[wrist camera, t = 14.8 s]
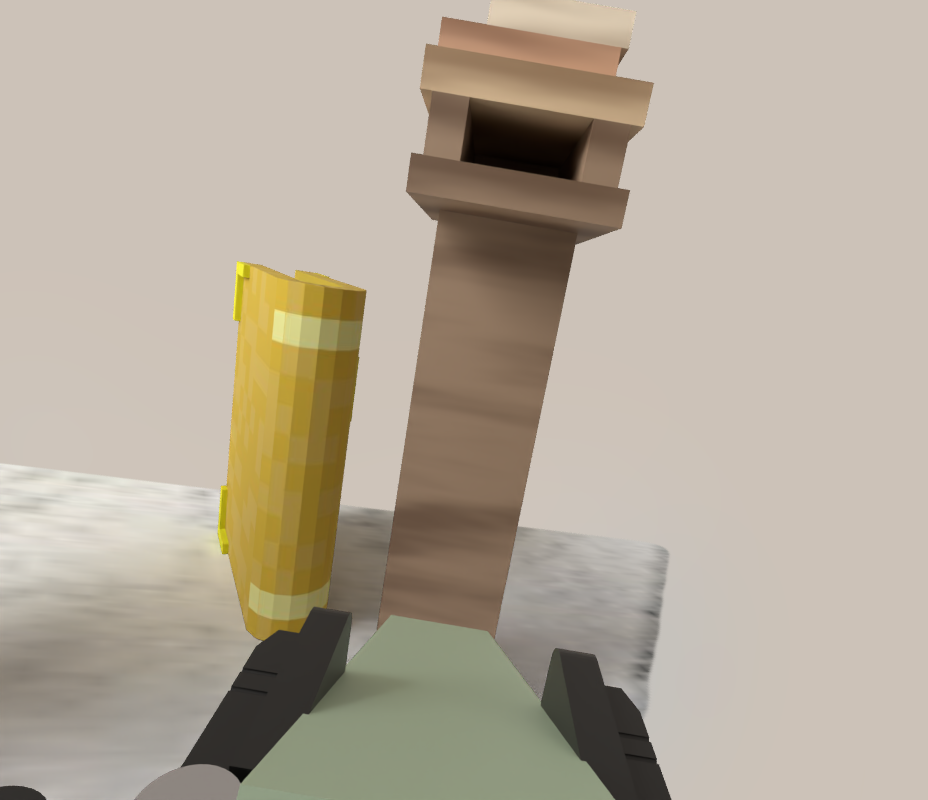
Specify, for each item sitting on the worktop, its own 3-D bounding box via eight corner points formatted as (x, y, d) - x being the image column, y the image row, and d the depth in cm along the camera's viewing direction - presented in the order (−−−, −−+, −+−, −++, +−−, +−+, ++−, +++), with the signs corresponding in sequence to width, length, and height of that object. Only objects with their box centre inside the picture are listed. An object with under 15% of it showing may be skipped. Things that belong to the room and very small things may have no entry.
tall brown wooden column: (492, 808, 29) (674, -10, 21) (326, 779, 29) (438, -51, 21) (490, 661, 40) (607, 91, 32) (370, 640, 40) (455, 64, 32)
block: (642, 1135, 5) (657, 854, 5) (174, 1057, 5) (240, 784, 5) (480, 684, 22) (487, 631, 22) (381, 667, 22) (391, 614, 22)
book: (217, 533, 51) (237, 261, 46) (291, 527, 55) (317, 273, 49) (243, 652, 37) (276, 280, 32) (340, 633, 41) (385, 295, 35)
